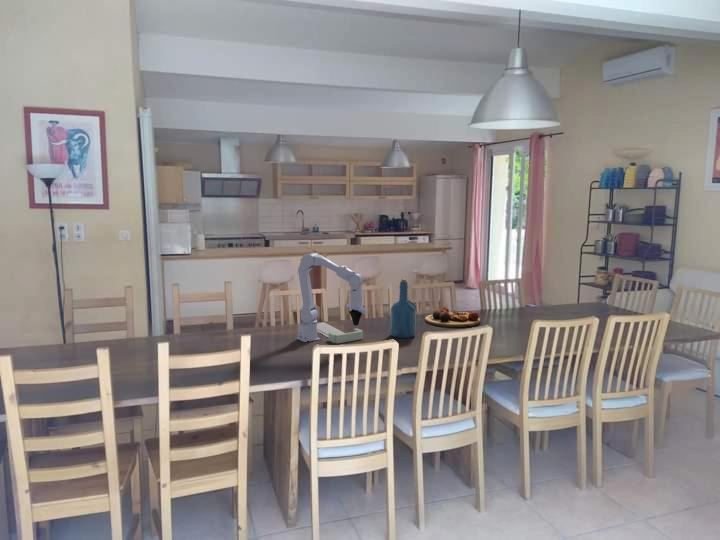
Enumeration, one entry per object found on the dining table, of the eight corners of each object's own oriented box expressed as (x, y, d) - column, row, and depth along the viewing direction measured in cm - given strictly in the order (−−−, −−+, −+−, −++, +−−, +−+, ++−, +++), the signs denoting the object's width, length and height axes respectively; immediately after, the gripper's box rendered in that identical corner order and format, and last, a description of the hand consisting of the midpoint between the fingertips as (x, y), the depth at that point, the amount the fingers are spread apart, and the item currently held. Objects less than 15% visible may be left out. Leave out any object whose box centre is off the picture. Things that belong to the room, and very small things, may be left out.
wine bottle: (386, 337, 278) (387, 280, 274) (395, 331, 290) (396, 276, 286) (411, 340, 272) (412, 282, 268) (419, 334, 284) (420, 278, 280)
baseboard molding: (327, 340, 274) (348, 337, 280) (327, 334, 274) (348, 332, 279) (304, 327, 301) (324, 324, 307) (304, 322, 301) (324, 319, 306)
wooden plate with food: (490, 321, 315) (490, 307, 314) (462, 330, 292) (462, 316, 291) (444, 314, 336) (444, 301, 335) (414, 322, 313) (414, 308, 312)
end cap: (335, 343, 265) (335, 335, 265) (328, 340, 271) (328, 332, 271) (364, 338, 275) (364, 331, 275) (356, 335, 281) (356, 328, 280)
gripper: (371, 299, 259) (371, 326, 261) (354, 294, 271) (354, 321, 273) (359, 301, 255) (359, 328, 257) (342, 296, 267) (342, 322, 269)
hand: (355, 324), depth 265 cm, fingers closed
